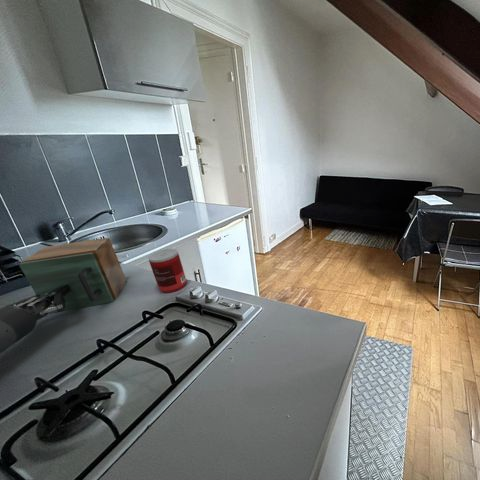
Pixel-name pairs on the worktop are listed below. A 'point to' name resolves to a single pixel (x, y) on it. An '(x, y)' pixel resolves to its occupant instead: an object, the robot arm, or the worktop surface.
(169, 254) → the canned food
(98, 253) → the cupboard
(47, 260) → the cupboard door
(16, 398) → the worktop surface
